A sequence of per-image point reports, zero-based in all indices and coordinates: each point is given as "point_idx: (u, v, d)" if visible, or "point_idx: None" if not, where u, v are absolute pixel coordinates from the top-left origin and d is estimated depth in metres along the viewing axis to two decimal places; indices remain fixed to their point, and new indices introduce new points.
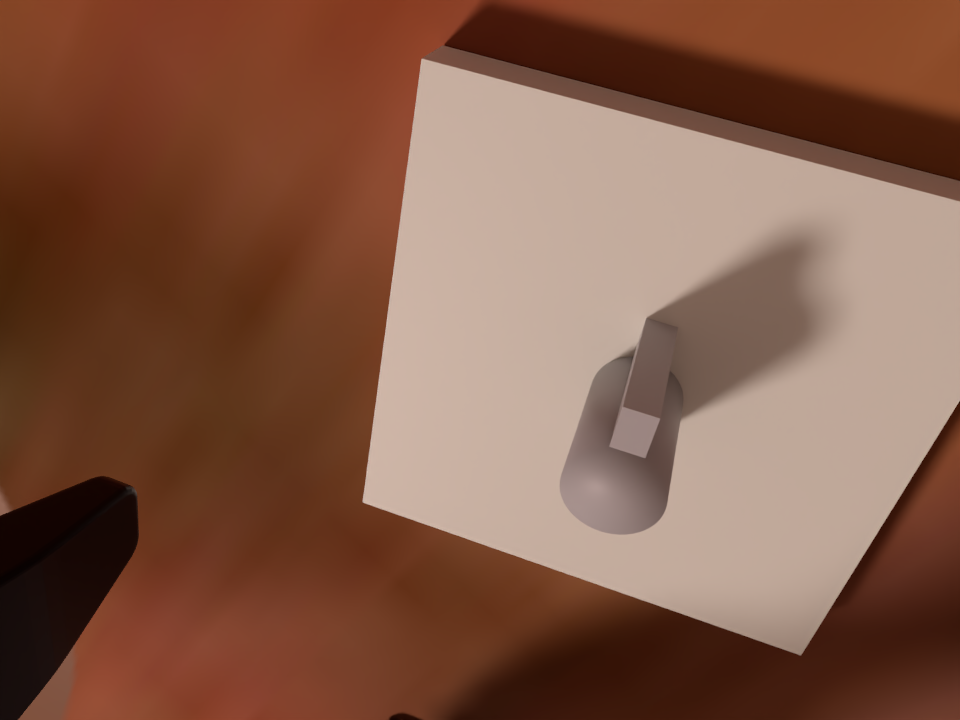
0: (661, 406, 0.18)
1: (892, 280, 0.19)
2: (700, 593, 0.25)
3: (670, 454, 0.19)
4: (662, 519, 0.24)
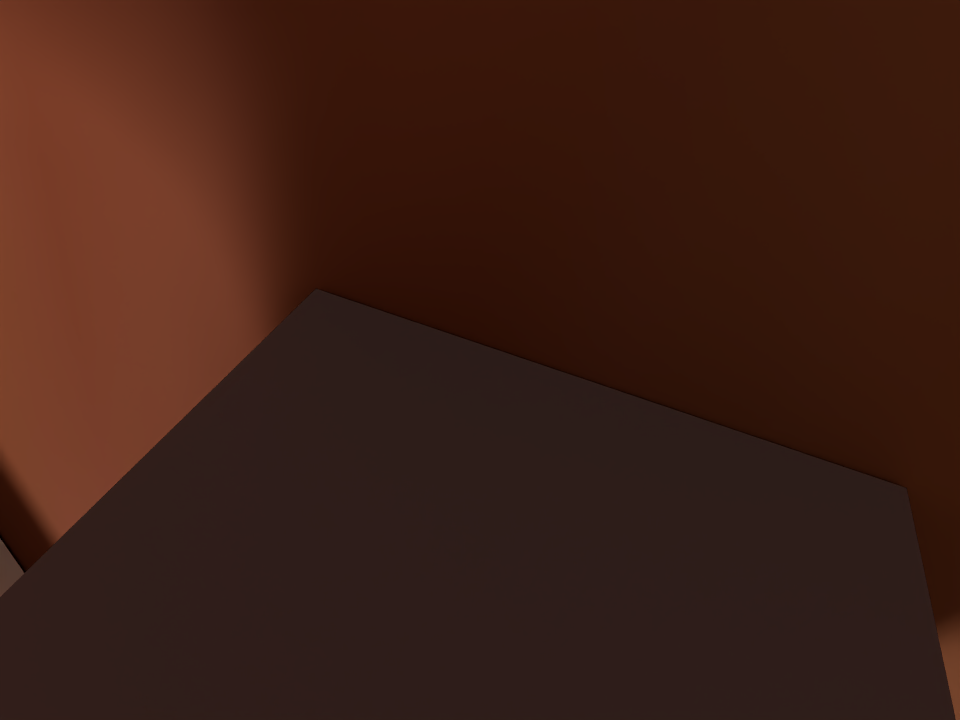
0: None
1: None
2: None
3: None
4: None
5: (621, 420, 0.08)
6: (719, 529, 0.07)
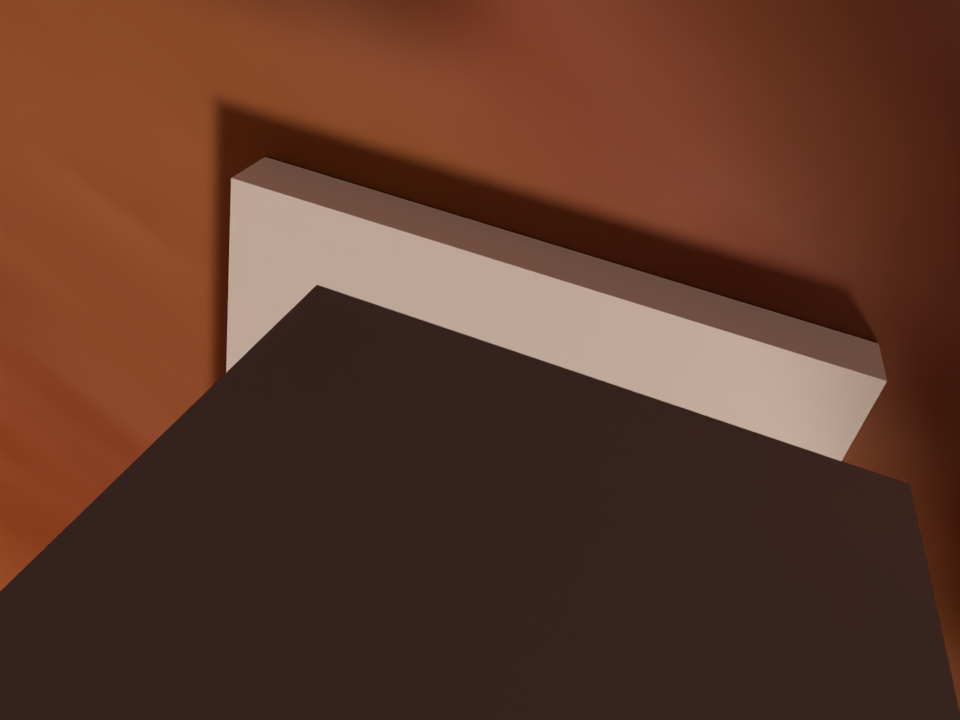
0: None
1: None
2: None
3: None
4: None
5: (625, 415, 0.08)
6: (722, 525, 0.07)
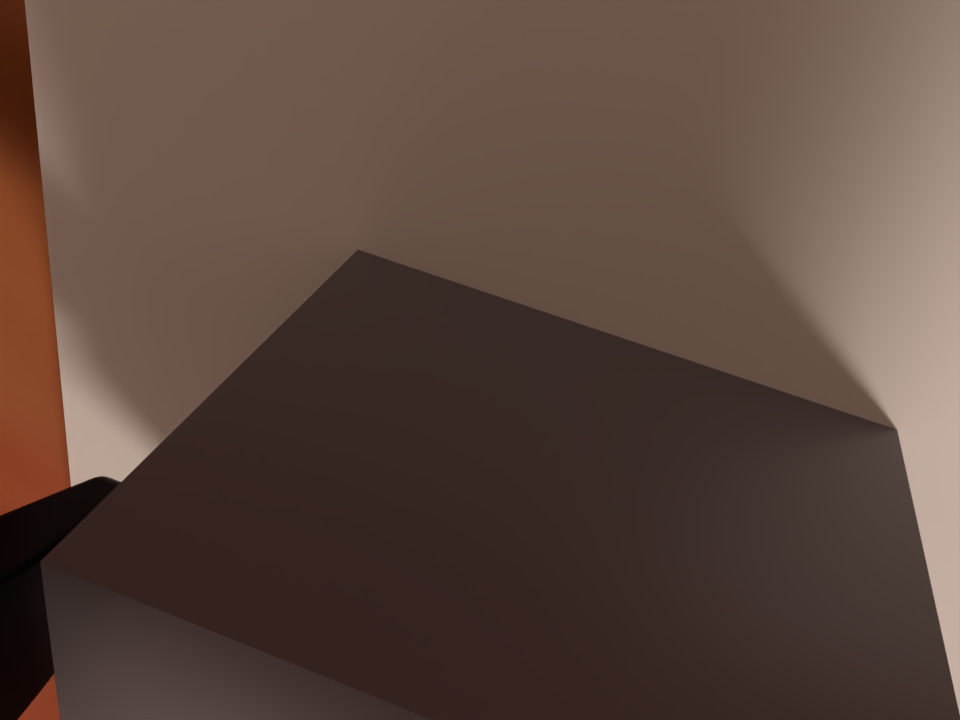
0: None
1: (196, 76, 0.09)
2: None
3: None
4: None
5: (639, 366, 0.09)
6: (729, 458, 0.08)
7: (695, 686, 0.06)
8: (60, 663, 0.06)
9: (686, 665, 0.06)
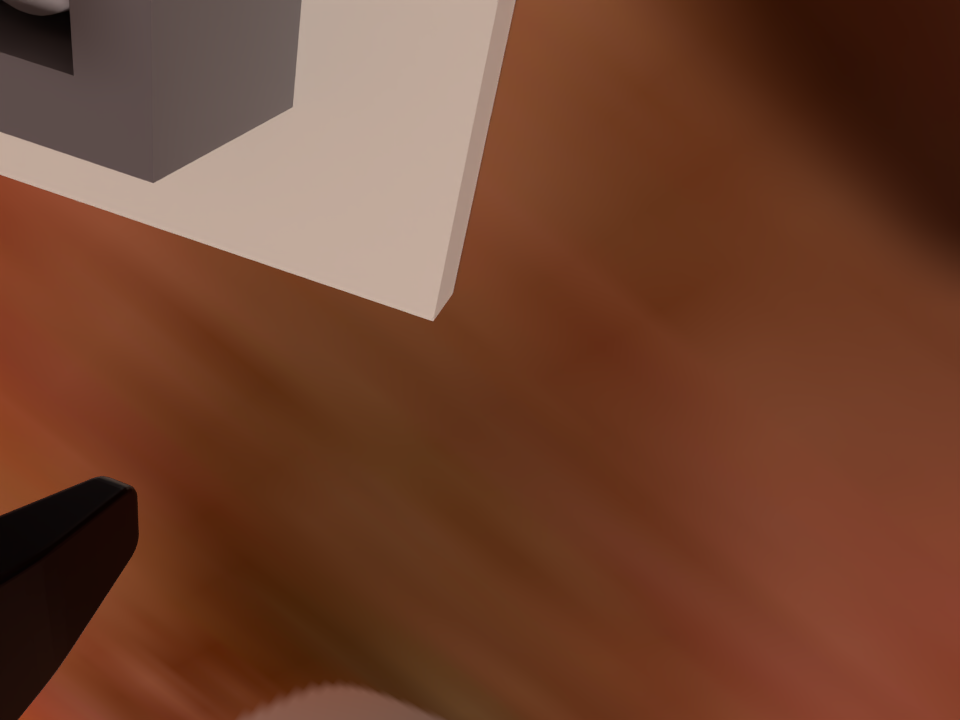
0: None
1: None
2: None
3: None
4: None
5: None
6: None
7: None
8: None
9: None
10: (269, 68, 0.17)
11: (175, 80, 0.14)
